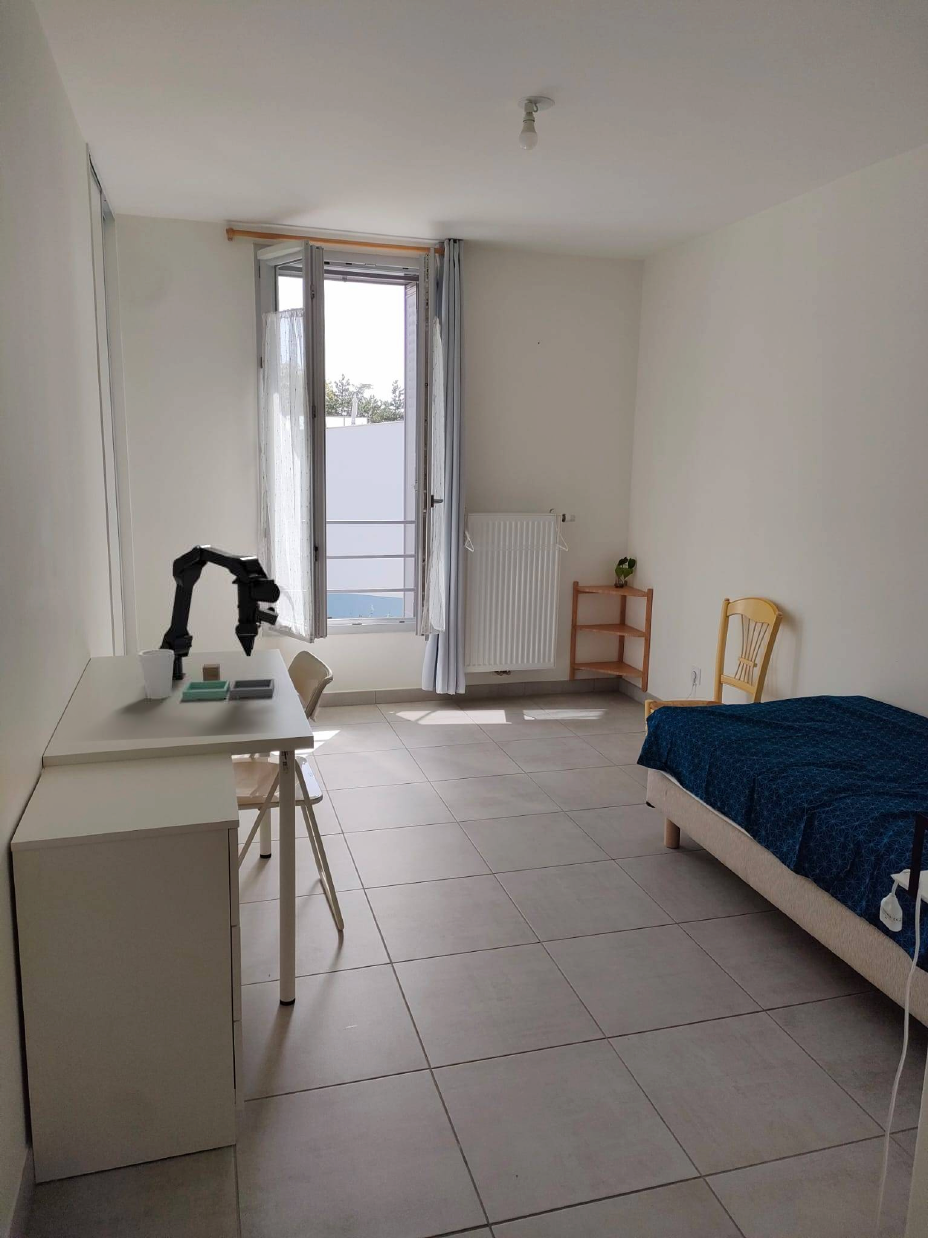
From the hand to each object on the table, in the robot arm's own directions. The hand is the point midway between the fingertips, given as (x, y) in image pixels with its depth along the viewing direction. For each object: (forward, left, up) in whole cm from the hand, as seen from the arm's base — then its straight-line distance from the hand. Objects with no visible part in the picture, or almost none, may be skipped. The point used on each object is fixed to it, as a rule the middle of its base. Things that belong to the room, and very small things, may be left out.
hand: (250, 653), depth 257 cm
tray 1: (0, -13, -12) cm, 17 cm away
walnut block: (-12, -13, -12) cm, 21 cm away
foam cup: (0, -26, -12) cm, 29 cm away
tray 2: (0, 0, -12) cm, 12 cm away
